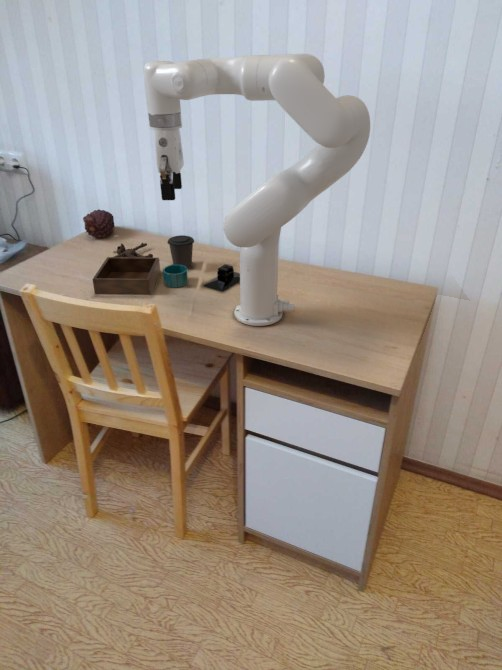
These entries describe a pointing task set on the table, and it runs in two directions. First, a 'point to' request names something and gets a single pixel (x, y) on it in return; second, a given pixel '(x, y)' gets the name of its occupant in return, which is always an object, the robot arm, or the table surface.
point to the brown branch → (130, 251)
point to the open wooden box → (127, 276)
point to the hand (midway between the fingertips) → (172, 194)
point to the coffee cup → (181, 250)
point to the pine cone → (99, 223)
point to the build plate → (224, 279)
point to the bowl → (175, 275)
